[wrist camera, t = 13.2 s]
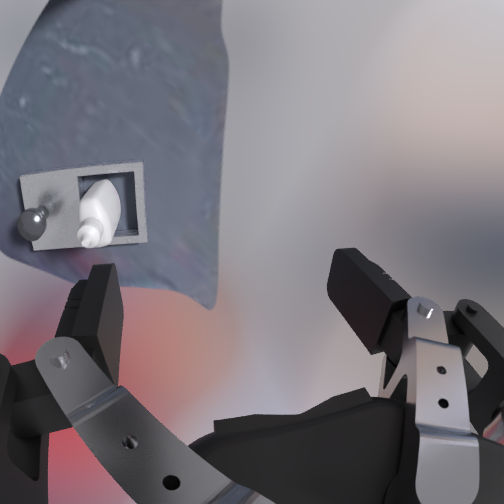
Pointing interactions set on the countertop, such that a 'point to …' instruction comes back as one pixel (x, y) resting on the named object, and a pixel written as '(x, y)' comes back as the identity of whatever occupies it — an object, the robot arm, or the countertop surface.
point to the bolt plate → (72, 204)
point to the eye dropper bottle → (98, 215)
